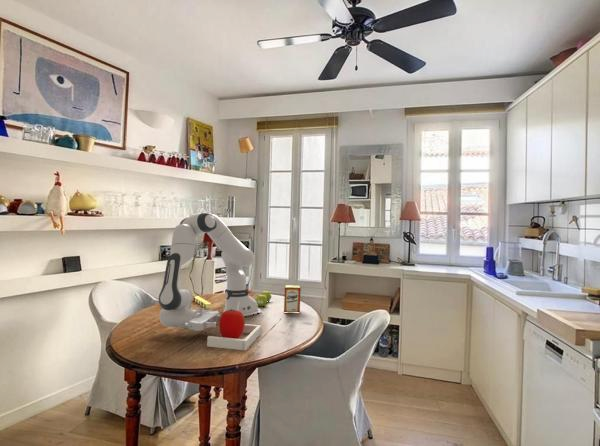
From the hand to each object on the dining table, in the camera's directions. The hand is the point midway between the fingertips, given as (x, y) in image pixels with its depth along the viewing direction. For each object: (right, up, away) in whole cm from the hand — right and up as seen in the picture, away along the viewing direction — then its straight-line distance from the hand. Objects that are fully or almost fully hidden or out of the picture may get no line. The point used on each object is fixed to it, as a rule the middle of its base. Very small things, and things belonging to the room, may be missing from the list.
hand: (220, 321), depth 153 cm
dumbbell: (+12, -8, +67) cm, 68 cm away
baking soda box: (+32, -9, +49) cm, 59 cm away
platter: (-28, -7, +58) cm, 64 cm away
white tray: (+6, -8, -1) cm, 10 cm away
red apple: (+5, -8, -1) cm, 10 cm away
